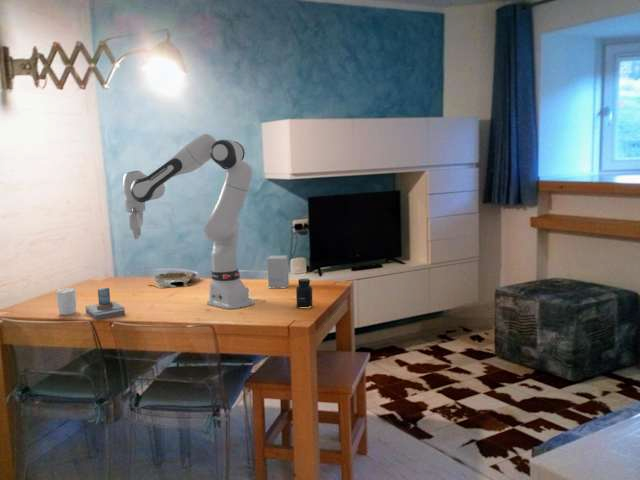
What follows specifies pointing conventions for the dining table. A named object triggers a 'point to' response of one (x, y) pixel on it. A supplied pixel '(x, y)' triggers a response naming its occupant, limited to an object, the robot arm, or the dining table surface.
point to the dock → (105, 311)
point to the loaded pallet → (104, 299)
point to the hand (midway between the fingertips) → (137, 237)
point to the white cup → (66, 301)
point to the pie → (173, 278)
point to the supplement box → (277, 271)
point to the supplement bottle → (304, 293)
